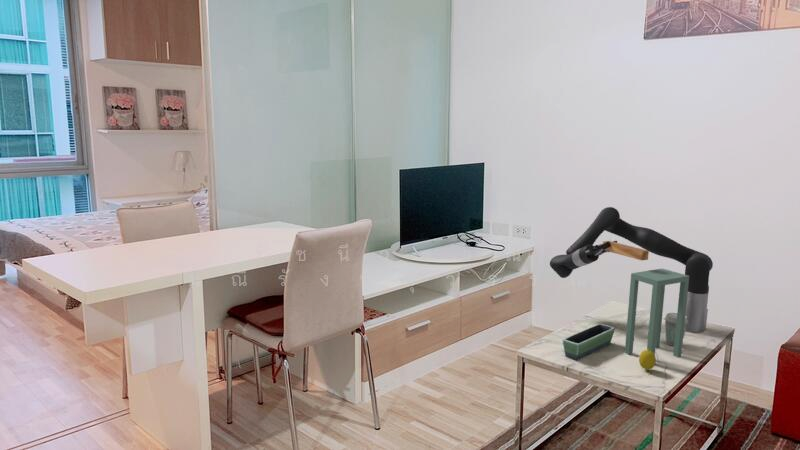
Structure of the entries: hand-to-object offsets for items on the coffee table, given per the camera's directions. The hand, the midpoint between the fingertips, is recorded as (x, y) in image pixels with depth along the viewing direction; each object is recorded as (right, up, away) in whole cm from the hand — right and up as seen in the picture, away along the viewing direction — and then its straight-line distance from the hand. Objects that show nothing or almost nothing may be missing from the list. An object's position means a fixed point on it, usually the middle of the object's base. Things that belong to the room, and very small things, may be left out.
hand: (613, 243), depth 239 cm
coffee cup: (+24, -41, -2) cm, 47 cm away
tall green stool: (+10, -43, -14) cm, 46 cm away
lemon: (+2, -45, -28) cm, 53 cm away
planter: (-13, -42, -9) cm, 45 cm away
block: (+3, -4, -5) cm, 7 cm away
